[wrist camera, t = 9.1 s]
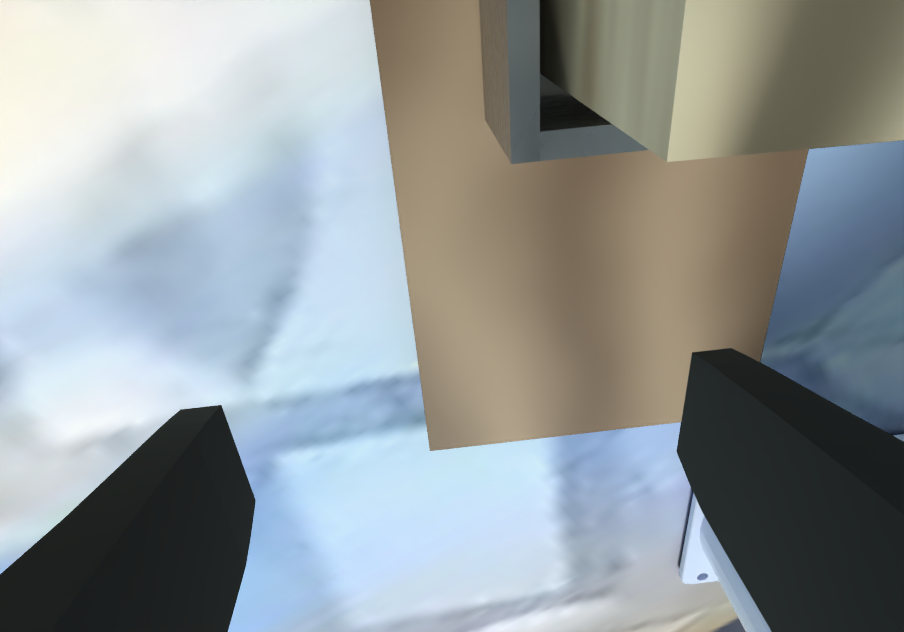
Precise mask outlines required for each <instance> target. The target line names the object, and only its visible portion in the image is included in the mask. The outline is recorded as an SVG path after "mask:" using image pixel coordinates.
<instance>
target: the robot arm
mask: <svg viewBox="0 0 904 632" xmlns="http://www.w3.org/2000/svg"><path fill="white" fill-rule="evenodd" d="M677 454H678V456H679V459H680V461H681V463H682V466H683V468H684V471H685V473H686V476H687V478H688V481H689V483H690V486H691V488H692V490H693V492H694V493H693V498H692V504H691V509H690V515H689V520H688V526H687V531H686V536H685V542H684V547H683V553H682V558H681V564H680V569H679V576H680V578H681V581H682V582H683V583H686V584H696V583H704V582H712V581H719V582H720V584H721V585H722V587H723V589H724V591H725V593H726V595H727V597H728V599H729V601H730V602H731V604H732V606H733V608H734V610H735V612H736V614H737V616H738V618H739V619H740V621H741V623H742V625H743V627H744V629H745V631H746V632H904V434H901V435H891V434H889V433H887V432H885V431H883V430H881V429H879V428H877V427H876V426H874V425H872V424H870V423H868V422H866V421H864V420H863V419H861V418H859V417H857V416H855V415H853V414H852V413H850V412H848V411H846V410H844V409H843V408H841V407H839V406H837V405H835V404H834V403H832V402H830V401H828V400H826V399H825V398H823V397H821V396H819V395H817V394H816V393H814V392H812V391H810V390H809V389H807V388H805V387H803V386H801V385H800V384H798V383H796V382H794V381H793V380H791V379H789V378H787V377H785V376H784V375H782V374H780V373H778V372H776V371H775V370H773V369H771V368H769V367H767V366H766V365H764V364H762V363H760V362H758V361H756V360H754V359H753V358H751V357H749V356H747V355H745V354H743V353H741V352H739V351H737V350H734V349H732V348H726V349H717V350H709V351H700V352H692V356H691V363H690V369H689V375H688V382H687V388H686V395H685V401H684V408H683V414H682V421H681V427H680V434H679V440H678V446H677ZM254 508H255V498H254V495H253V492H252V490H251V487H250V484H249V481H248V478H247V476H246V473H245V470H244V467H243V465H242V462H241V459H240V456H239V453H238V451H237V448H236V445H235V442H234V439H233V437H232V434H231V431H230V428H229V425H228V423H227V420H226V417H225V414H224V412H223V409H222V406H221V405H218V406H209V407H200V408H191V409H183V410H180V411H179V412H177V413H176V414H175V415H174V416H173V417H172V418H170V419H169V420H168V421H167V422H166V423H165V424H164V425H163V426H162V427H160V428H159V429H158V430H157V431H156V432H155V433H154V434H153V435H152V436H151V437H150V438H149V439H148V440H147V441H146V442H144V443H143V444H142V445H141V446H140V447H139V448H138V449H137V450H136V451H135V452H134V453H133V454H132V455H131V456H130V457H129V458H128V459H127V460H126V461H125V462H124V463H123V464H121V465H120V466H119V467H118V468H117V469H116V470H115V471H114V472H113V473H112V474H111V475H110V476H109V477H108V478H107V479H106V480H105V481H103V482H102V483H101V484H100V485H99V486H98V487H97V488H96V489H95V490H94V491H93V492H92V493H91V494H90V495H89V496H88V497H86V498H85V499H84V500H83V501H82V502H81V503H80V504H79V505H78V506H77V507H76V508H75V509H74V510H73V511H72V512H70V513H69V514H68V515H67V516H66V517H65V518H64V519H63V520H62V521H61V522H60V523H58V524H57V525H56V526H55V527H54V528H53V529H52V530H50V531H49V532H48V533H47V534H46V535H45V536H44V537H42V538H41V539H40V540H39V541H38V542H37V543H36V544H34V545H33V546H32V547H31V548H30V549H29V550H28V551H26V552H25V553H24V554H23V555H22V556H21V557H20V558H18V559H17V560H16V561H15V562H14V563H13V564H12V565H11V566H9V567H8V568H7V569H6V570H5V571H4V572H3V573H1V574H0V632H228V628H229V625H230V621H231V618H232V614H233V610H234V607H235V603H236V600H237V596H238V592H239V589H240V585H241V582H242V578H243V574H244V570H245V566H246V561H247V555H248V549H249V543H250V537H251V530H252V523H253V515H254Z"/></svg>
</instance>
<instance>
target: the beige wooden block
mask: <svg viewBox="0 0 904 632" xmlns="http://www.w3.org/2000/svg"><path fill="white" fill-rule="evenodd" d="M540 74H541V75H543V76H544V77H545V78H547V79H548V80H550V81H551V82H553V83H554V84H555V85H557V86H558V87H560V88H561V89H563V90H564V91H566V92H567V93H568V94H570V95H571V96H573V97H574V98H576V99H577V100H578V101H580V102H581V103H583V104H584V105H586V106H587V107H588V108H590V109H591V110H593V111H594V112H596V113H597V114H599V115H600V116H601V117H603V118H604V119H606V120H607V121H609V122H610V123H611V124H613V125H614V126H616V127H617V128H619V129H620V130H621V131H623V132H624V133H626V134H627V135H629V136H630V137H632V138H633V139H634V140H636V141H637V142H639V143H640V144H642V145H643V146H644V147H646V148H647V149H649V150H650V151H652V152H653V153H655V154H656V155H657V156H659V157H660V158H662V159H663V160H665V161H666V162H674V161H684V160H695V159H706V158H717V157H728V156H738V155H749V154H760V153H771V152H782V151H792V150H803V149H814V148H825V147H836V146H846V145H857V144H868V143H879V142H889V141H900V140H904V0H540Z"/></svg>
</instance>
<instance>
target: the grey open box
mask: <svg viewBox="0 0 904 632" xmlns="http://www.w3.org/2000/svg"><path fill="white" fill-rule="evenodd" d="M479 10H480V30H481V50H482V70H483V90H484V110H485V121H486V122H487V124H488V126H489V127H490V129H491V131H492V132H493V134H494V136H495V138H496V139H497V141H498V143H499V144H500V146H501V148H502V149H503V151H504V153H505V154H506V156H507V158H508V159H509V161H510V163H511V164H518V163H528V162H537V161H547V160H557V159H567V158H576V157H586V156H596V155H606V154H615V153H625V152H635V151H645V150H649V149H647V148H646V147H644V146H643V145H642V144H640V143H639V142H637V141H636V140H634V139H633V138H632V137H630V136H629V135H627V134H626V133H624V132H623V131H621V130H620V129H619V128H617V127H616V126H614V125H613V124H611V123H610V122H609V121H607V120H606V119H604V118H603V117H601V116H600V115H599V114H597V113H596V112H594V111H593V110H591V109H590V108H588V107H587V106H586V105H584V104H583V103H581V102H580V101H578V100H577V99H576V98H574V97H573V96H571V95H570V94H568V93H567V92H566V91H564V90H563V89H561V88H560V87H558V86H557V85H555V84H554V83H553V82H551V81H550V80H548V79H547V78H545V77H544V76H543V75H541V74H540V0H479Z"/></svg>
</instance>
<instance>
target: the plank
mask: <svg viewBox="0 0 904 632" xmlns="http://www.w3.org/2000/svg"><path fill="white" fill-rule="evenodd" d="M370 5H371V12H372V20H373V27H374V35H375V42H376V50H377V57H378V65H379V72H380V80H381V87H382V95H383V102H384V110H385V117H386V125H387V132H388V140H389V147H390V155H391V162H392V170H393V177H394V185H395V192H396V200H397V207H398V215H399V222H400V230H401V237H402V245H403V252H404V260H405V267H406V275H407V282H408V290H409V297H410V305H411V312H412V320H413V327H414V335H415V342H416V350H417V357H418V364H419V372H420V379H421V387H422V394H423V402H424V409H425V417H426V424H427V432H428V439H429V447H430V451H434V450H443V449H451V448H460V447H469V446H477V445H486V444H495V443H503V442H512V441H521V440H529V439H538V438H547V437H555V436H564V435H573V434H581V433H590V432H599V431H607V430H616V429H625V428H633V427H642V426H651V425H659V424H668V423H677V422H681V421H682V414H683V408H684V401H685V395H686V388H687V382H688V375H689V369H690V363H691V356H692V352H700V351H709V350H717V349H726V348H732V349H734V350H737V351H739V352H741V353H743V354H745V355H747V356H749V357H751V358H753V359H754V360H756V361H758V362H760V360H761V356H762V351H763V347H764V342H765V338H766V334H767V329H768V325H769V321H770V316H771V312H772V307H773V303H774V299H775V294H776V290H777V286H778V281H779V277H780V273H781V268H782V264H783V259H784V255H785V251H786V246H787V242H788V238H789V233H790V229H791V224H792V220H793V216H794V211H795V207H796V203H797V198H798V194H799V189H800V185H801V181H802V176H803V172H804V168H805V163H806V159H807V154H808V150H809V149H803V150H792V151H782V152H771V153H760V154H749V155H738V156H728V157H717V158H706V159H695V160H684V161H674V162H666V161H665V160H663V159H662V158H660V157H659V156H657V155H656V154H655V153H653V152H652V151H650V150H645V151H635V152H625V153H615V154H606V155H596V156H586V157H576V158H567V159H557V160H547V161H537V162H528V163H518V164H511V163H510V161H509V159H508V158H507V156H506V154H505V153H504V151H503V149H502V148H501V146H500V144H499V143H498V141H497V139H496V138H495V136H494V134H493V132H492V131H491V129H490V127H489V126H488V124H487V122H486V121H485V110H484V90H483V70H482V50H481V30H480V10H479V0H370Z"/></svg>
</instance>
